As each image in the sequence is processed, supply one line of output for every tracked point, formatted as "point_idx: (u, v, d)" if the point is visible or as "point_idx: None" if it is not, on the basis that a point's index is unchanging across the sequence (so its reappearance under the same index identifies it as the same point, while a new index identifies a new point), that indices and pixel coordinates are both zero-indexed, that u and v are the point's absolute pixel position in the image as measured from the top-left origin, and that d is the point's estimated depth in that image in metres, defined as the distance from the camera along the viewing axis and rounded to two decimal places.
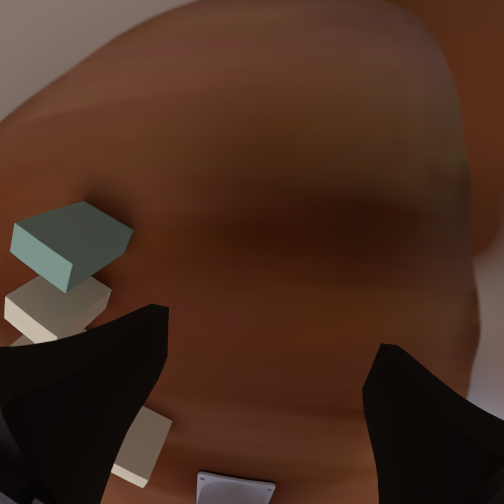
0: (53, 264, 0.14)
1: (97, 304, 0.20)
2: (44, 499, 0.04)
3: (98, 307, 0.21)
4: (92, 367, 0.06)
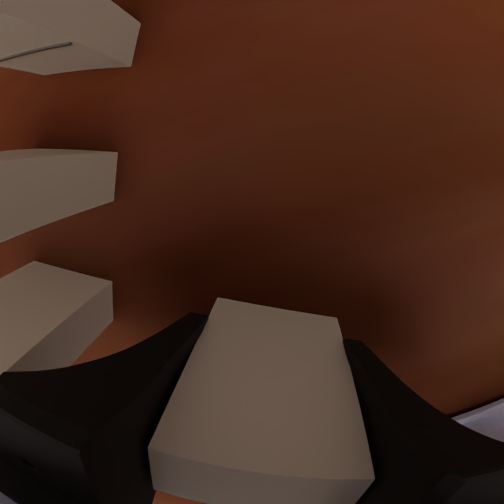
0: None
1: (113, 12, 0.07)
2: None
3: (115, 29, 0.08)
4: (152, 386, 0.06)
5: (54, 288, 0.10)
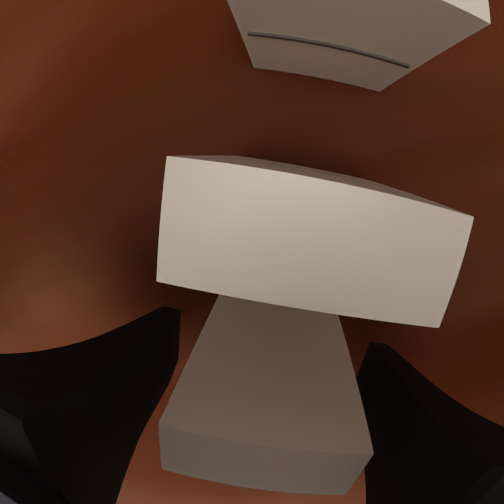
0: None
1: None
2: None
3: None
4: (110, 373, 0.06)
5: (324, 171, 0.09)
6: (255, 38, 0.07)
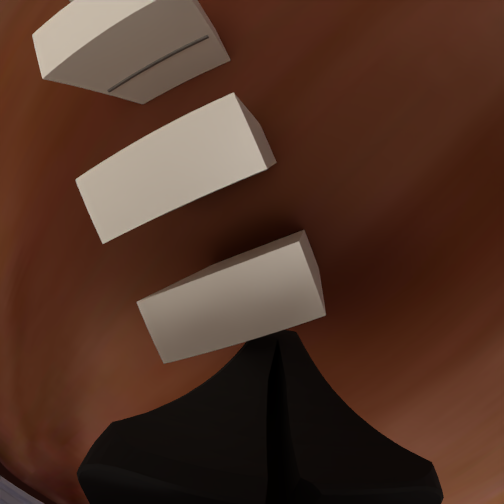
0: None
1: None
2: None
3: None
4: (265, 410, 0.05)
5: None
6: (116, 90, 0.10)
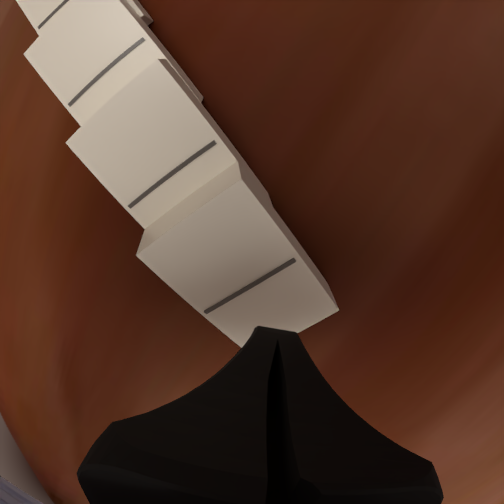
0: None
1: None
2: None
3: None
4: (265, 410, 0.05)
5: None
6: (76, 109, 0.11)
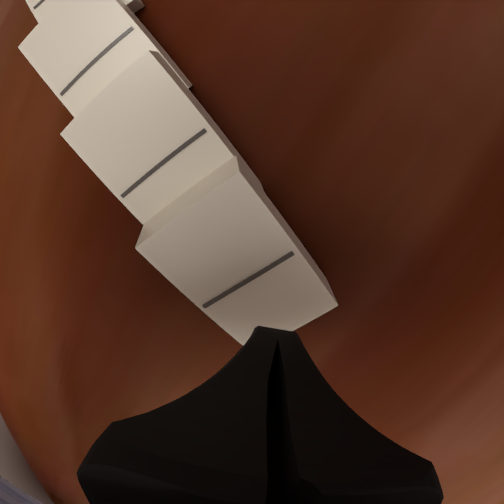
0: None
1: None
2: None
3: None
4: (265, 410, 0.05)
5: None
6: (68, 98, 0.10)
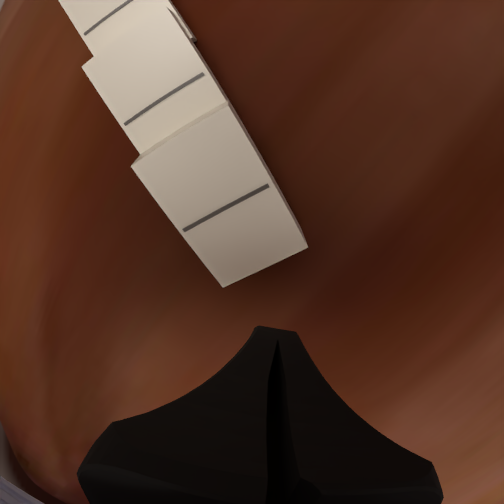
0: None
1: None
2: None
3: None
4: (265, 410, 0.05)
5: None
6: (90, 38, 0.11)
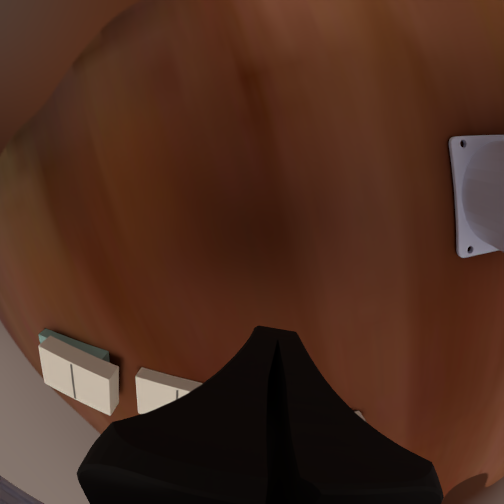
0: None
1: (95, 359, 0.22)
2: None
3: (96, 364, 0.22)
4: (265, 411, 0.05)
5: None
6: None
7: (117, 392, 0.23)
